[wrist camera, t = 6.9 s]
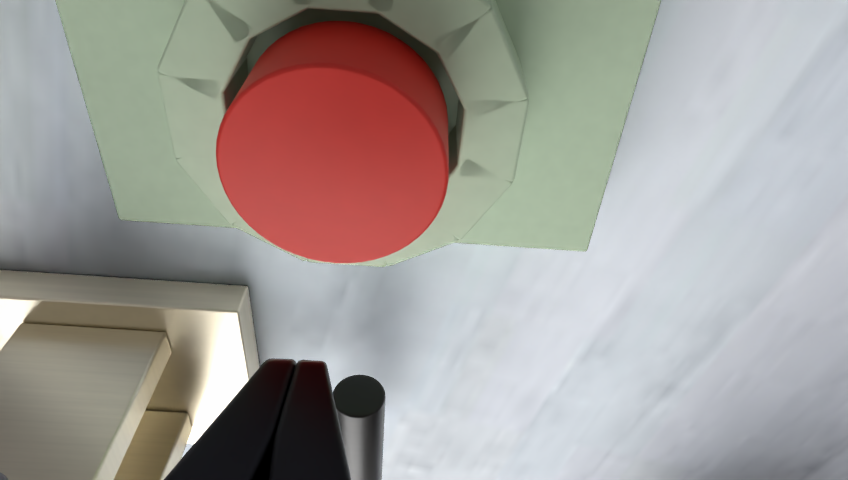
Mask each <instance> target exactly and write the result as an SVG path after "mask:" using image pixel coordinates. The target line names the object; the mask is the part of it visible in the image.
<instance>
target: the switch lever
mask: <svg viewBox="0 0 848 480" xmlns="http://www.w3.org/2000/svg"><path fill="white" fill-rule="evenodd" d="M333 396H334V401H335V406H336V410H337V415H338V420H339V424H340V429H341V434H342V438H343V443H344V448H345V452H346V457H347V462H348V466H349V471H350V476H351V480H381V479H382V458H383V436H384V415H385V391H384V389H383V387H382V385H381V384H380V383H379V382H378V381H377V380H376V379H374V378H372V377H369V376H365V375H354V376H350V377H347V378H345V379H343V380H342V381H341V382H339V383H338V385H337V386H336V387H335V389H334V391H333Z"/></svg>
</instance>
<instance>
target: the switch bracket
mask: <svg viewBox="0 0 848 480" xmlns="http://www.w3.org/2000/svg"><path fill="white" fill-rule="evenodd" d="M259 367H260V365H259V358H258V352H257V345H256V338H255V331H254V324H253V317H252V310H251V303H250V296H249V290H248V286H241V285H225V284H210V283H195V282H180V281H164V280H149V279H134V278H118V277H103V276H88V275H73V274H57V273H42V272H27V271H11V270H0V480H164V479H165V477H166V476H167V475H168V474H169V473H170V472H171V470H172V469H173V468H174V467H175V466H176V465H177V463H178V462H179V461H180V460H181V458H182V455H183V452H184V450H185V447H186V444H195V442H196V441H197V440H198V439H199V438H200V436H201V435H202V434H203V433H204V432H205V431H206V429H207V428H208V427H209V426H210V425H211V424H212V422H213V421H214V420H215V419H216V418H217V417H218V415H219V414H220V413H221V412H222V411H223V410H224V408H225V407H226V406H227V405H228V404H229V403H230V401H231V400H232V399H233V398H234V397H235V396H236V394H237V393H238V392H239V391H240V390H241V389H242V387H243V386H244V385H245V384H246V383H247V381H248V380H249V379H250V378H251V377H252V376H253V374H254V373H255V372H256V371H257V370H258V369H259Z"/></svg>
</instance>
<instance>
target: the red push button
mask: <svg viewBox="0 0 848 480" xmlns="http://www.w3.org/2000/svg"><path fill="white" fill-rule="evenodd" d="M216 162H217V169H218V173H219V177H220V181H221V183H222V186H223V188H224V191H225V193H226V195H227V197H228V199H229V201H230V202H231V204H232V206H233V207H234V208H235V210H236V211H237V212H238V214H239V215H240V216H241V217H242V219H243V220H244V221H245V222H246V223H247V224H248V225H249V226H250V227H251V228H252V229H254V230H255V231H256V232H257V233H258V234H259V235H261V236H262V237H264V238H265V239H267V240H268V241H269V242H271V243H273V244H275V245H276V246H278V247H280V248H282V249H284V250H286V251H288V252H291V253H293V254H295V255H299V256H302V257H305V258H308V259H312V260H317V261H321V262H330V263H358V262H365V261H371V260H375V259H379V258H382V257H385V256H388V255H390V254H392V253H395V252H397V251H399V250H401V249H403V248H404V247H406V246H408V245H409V244H411V243H412V242H413V241H414V240H416V239H417V238H418V237H419V236H420V235H421V234H422V233H423V232H424V231H425V230H426V229H427V228H428V227H429V226H430V225H431V223H432V222H433V221H434V219H435V218H436V216H437V214H438V213H439V211H440V209H441V207H442V205H443V202H444V199H445V196H446V192H447V187H448V181H449V146H448V114H447V105H446V102H445V98H444V94H443V91H442V89H441V87H440V84H439V82H438V80H437V78H436V77H435V75H434V73H433V72H432V70H431V69H430V67H429V66H428V65H427V63H426V62H425V61H424V60H423V58H422V57H421V56H420V55H419V54H417V53H416V52H415V51H414V50H413V49H412V48H411V47H410V46H408V45H407V44H406V43H404V42H403V41H402V40H400V39H398V38H397V37H395V36H393V35H392V34H390V33H388V32H386V31H383V30H381V29H378V28H376V27H373V26H369V25H366V24H362V23H357V22H350V21H325V22H317V23H313V24H309V25H305V26H302V27H300V28H297V29H295V30H293V31H290V32H288V33H287V34H285V35H284V36H282V37H280V38H279V39H277V40H276V41H275V42H274V43H273V44H272V45H270V46H269V47H268V48H267V49H266V50H265V52H264V53H263V54H262V55H261V56H260V57H259V59H258V61H257V62H256V64H255V65H254V67H253V69H252V70H251V72H250V74H249V75H248V77H247V78H246V80H245V82H244V83H243V85H242V87H241V88H240V90H239V91H238V93H237V95H236V96H235V98H234V100H233V101H232V103H231V104H230V106H229V108H228V109H227V111H226V113H225V115H224V117H223V119H222V122H221V124H220V127H219V131H218V135H217V141H216Z"/></svg>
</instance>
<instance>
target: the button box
mask: <svg viewBox="0 0 848 480" xmlns="http://www.w3.org/2000/svg"><path fill="white" fill-rule="evenodd" d="M55 1H56V5H57V8H58V11H59V15H60V18H61V22H62V25H63V28H64V32H65V35H66V39H67V42H68V46H69V49H70V52H71V56H72V59H73V63H74V66H75V70H76V73H77V76H78V80H79V83H80V87H81V90H82V94H83V97H84V100H85V104H86V107H87V111H88V114H89V118H90V121H91V124H92V128H93V131H94V135H95V138H96V141H97V145H98V148H99V152H100V155H101V159H102V162H103V165H104V169H105V172H106V176H107V179H108V183H109V186H110V189H111V193H112V196H113V200H114V203H115V207H116V210H117V213H118V217H119V219H120V220H127V221H141V222H156V223H171V224H186V225H201V226H215V227H230V228H238V229H240V230H242V231H244V232H246V233H248V234H250V235H252V236H254V237H256V238H258V239H260V240H262V241H264V242H266V243H268V244H270V245H272V246H274V247H276V248H278V249H280V250H282V251H284V252H286V253H288V254H290V255H292V256H294V257H296V258H298V259H301V260H303V261H306V260H307V261H308V262H314V263H330V262H321V261H317V260H312V259H308V258H305V257H302V256H299V255H295V254H293V253H291V252H288V251H286V250H284V249H282V248H280V247H278V246H276V245H275V244H273V243H271V242H269V241H268V240H267V239H265V238H264V237H262V236H261V235H259V234H258V233H257V232H256V231H255V230H254V229H252V228H251V227H250V226H249V225H248V224H247V223H246V222H245V221H244V220H243V219H242V217H241V216H240V215H239V214H238V212H237V211H236V210H235V208H234V207H233V206H232V204H231V202H230V201H229V199H228V197H227V195H226V193H225V191H224V188H223V186H222V183H221V181H220V177H219V173H218V169H217V162H216V141H217V135H218V131H219V127H220V124H221V122H222V119H223V117H224V115H225V113H226V111H227V109H228V108H229V106H230V104H231V103H232V101H233V100H234V98H235V96H236V95H237V93H238V91H239V90H240V88H241V87H242V85H243V83H244V82H245V80H246V78H247V77H248V75H249V74H250V72H251V70H252V69H253V67H254V65H255V64H256V62H257V61H258V59H259V57H260V56H261V55H262V54H263V53H264V52H265V50H266V49H267V48H268V47H269V46H270V45H272V44H273V43H274V42H275V41H276V40H277V39H279V38H280V37H282V36H284V35H285V34H287V33H288V32H290V31H293V30H295V29H297V28H300V27H302V26H305V25H309V24H313V23H317V22H325V21H350V22H357V23H362V24H366V25H369V26H373V27H376V28H378V29H381V30H383V31H386V32H388V33H390V34H392V35H393V36H395V37H397V38H398V39H400V40H402V41H403V42H404V43H406V44H407V45H408V46H410V47H411V48H412V49H413V50H414V51H415V52H416V53H417V54H419V55H420V56H421V57H422V58H423V60H424V61H425V62H426V63H427V65H428V66H429V67H430V69H431V70H432V72H433V73H434V75H435V77H436V78H437V80H438V82H439V84H440V87H441V89H442V91H443V94H444V98H445V102H446V105H447V114H448V146H449V181H448V187H447V192H446V196H445V199H444V202H443V205H442V207H441V209H440V211H439V213H438V214H437V216H436V218H435V219H434V221H433V222H432V223H431V225H430V226H429V227H428V228H427V229H426V230H425V231H424V232H423V233H422V234H421V235H420V236H419V237H418V238H417V239H416V240H414V241H413V242H412V243H411V244H409V245H408V246H406V247H404V248H403V249H401V250H399V251H397V252H395V253H392V254H390V255H388V256H385V257H382V258H379V259H375V260H371V261H365V262H358V263H330V264H345V265H360V266H375V267H385V266H386V265H387V266H391V265H394V264H397V263H399V262H402V261H405V260H408V259H410V258H413V257H416V256H419V255H421V254H424V253H427V252H429V251H432V250H435V249H438V248H440V247H443V246H446V245H449V244H451V243H467V244H481V245H496V246H511V247H526V248H541V249H555V250H570V251H587V249H588V246H589V242H590V239H591V235H592V232H593V229H594V225H595V222H596V219H597V215H598V212H599V208H600V205H601V202H602V198H603V195H604V192H605V188H606V185H607V181H608V178H609V175H610V171H611V168H612V165H613V161H614V158H615V155H616V151H617V148H618V144H619V141H620V138H621V134H622V131H623V128H624V124H625V121H626V117H627V114H628V111H629V107H630V104H631V101H632V97H633V94H634V91H635V87H636V84H637V80H638V77H639V74H640V70H641V67H642V64H643V60H644V57H645V53H646V50H647V47H648V43H649V40H650V37H651V33H652V30H653V27H654V23H655V20H656V16H657V13H658V10H659V6H660V3H661V0H55Z"/></svg>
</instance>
